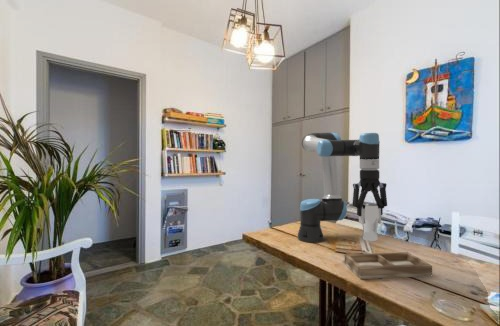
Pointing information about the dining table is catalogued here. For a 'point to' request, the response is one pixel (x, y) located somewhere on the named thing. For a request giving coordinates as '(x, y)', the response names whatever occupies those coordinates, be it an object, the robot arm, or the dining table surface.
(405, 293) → the dining table surface
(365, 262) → the tray
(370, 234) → the metal cup
